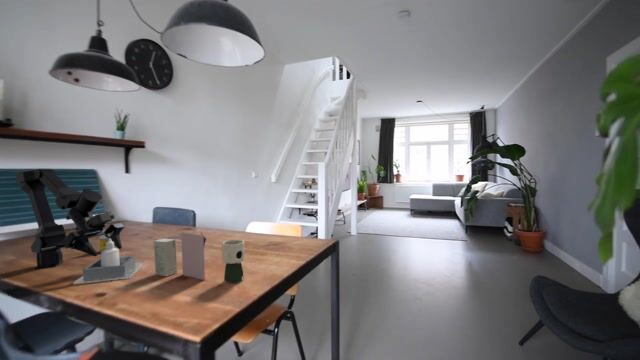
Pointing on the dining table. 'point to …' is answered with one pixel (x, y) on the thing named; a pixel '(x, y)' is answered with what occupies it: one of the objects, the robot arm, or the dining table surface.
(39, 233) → the robot arm
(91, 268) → the flat grey tray
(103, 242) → the supplement bottle
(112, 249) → the eye dropper bottle
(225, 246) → the character mug
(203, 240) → the greeting card
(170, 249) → the skincare box
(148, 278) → the dining table surface
